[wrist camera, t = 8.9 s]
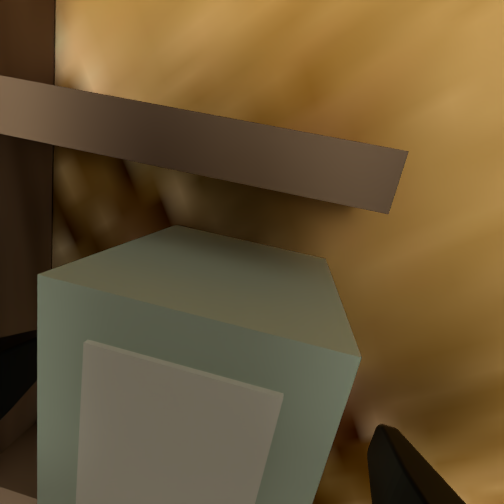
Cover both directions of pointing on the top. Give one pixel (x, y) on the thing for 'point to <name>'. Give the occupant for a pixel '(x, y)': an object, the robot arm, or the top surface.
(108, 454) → the frame block
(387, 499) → the robot arm
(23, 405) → the walnut comb rail
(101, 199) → the top surface
